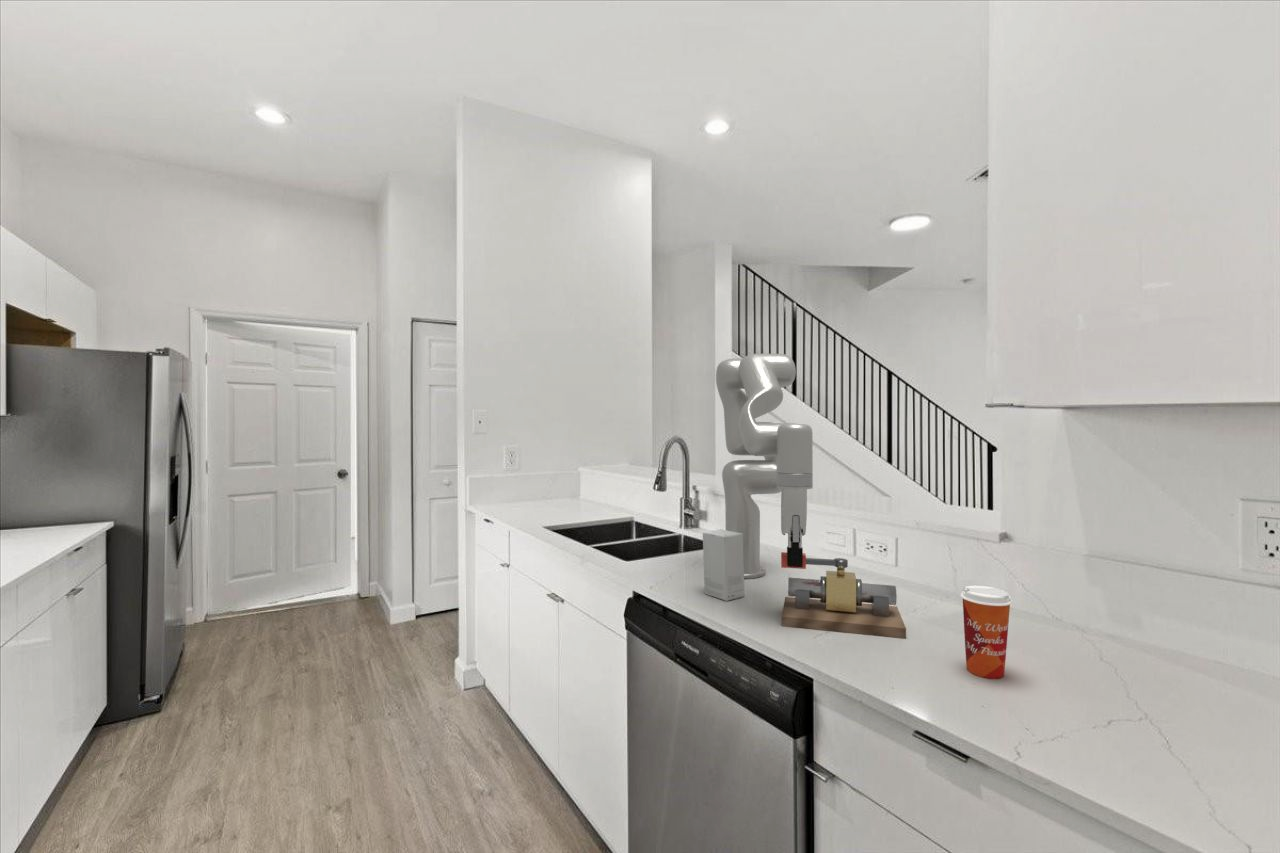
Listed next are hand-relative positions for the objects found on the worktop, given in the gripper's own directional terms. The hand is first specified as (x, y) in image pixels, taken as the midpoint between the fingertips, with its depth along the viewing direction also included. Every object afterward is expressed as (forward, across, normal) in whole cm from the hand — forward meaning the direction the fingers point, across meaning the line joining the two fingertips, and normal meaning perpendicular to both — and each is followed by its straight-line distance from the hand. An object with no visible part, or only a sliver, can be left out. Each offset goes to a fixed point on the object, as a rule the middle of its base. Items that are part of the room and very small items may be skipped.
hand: (794, 565), depth 127 cm
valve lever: (+1, -3, +4) cm, 5 cm away
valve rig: (+12, -2, +10) cm, 15 cm away
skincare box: (+12, -14, -16) cm, 25 cm away
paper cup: (+12, +20, +31) cm, 39 cm away
